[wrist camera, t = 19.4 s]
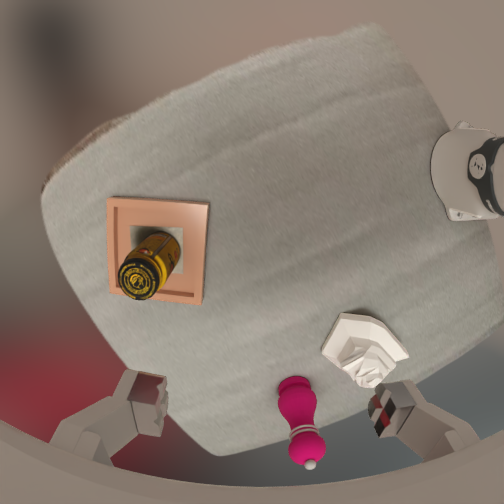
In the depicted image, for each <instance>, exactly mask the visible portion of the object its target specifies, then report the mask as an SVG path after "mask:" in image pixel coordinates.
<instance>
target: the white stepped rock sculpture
mask: <svg viewBox="0 0 504 504" xmlns="http://www.w3.org/2000/svg"><path fill="white" fill-rule="evenodd" d="M322 354H323V355H324V356H325V357H327V358H328V359H329V360H330V361H331V362H332V363H334V364H335V365H336V366H337V367H338V368H340V369H341V370H343V371H345V372H346V373H348V374H349V375H350V376H351V377H352V379H353V381H354V382H357V383H358V384H359V386H360V387H366V388H374V387H375V386H376V385H377V384H379V383H380V382H381V381H382V380H383V379H384V378H385V377H386V376H387V375H388V373H389V372H390V371H392V370H393V369H394V368H395V367H396V362H395V361H399V360H402V359H406V358H409V355H408V351H407V350H406V349H405V348H404V346H403V345H402V344H401V343H400V342H399V341H398V339H397V338H396V337H395V336H394V335H393V334H392V332H391V331H390V330H389V329H388V328H387V327H386V325H385V324H384V323H383V322H381V321H379V320H377V319H375V318H373V317H371V316H365V315H356V314H347V313H340V315H339V317H338V319H337V321H336V322H335V324H334V326H333V328H332V330H331V332H330V334H329V335H328V337H327V339H326V341H325V343H324V344H323V346H322Z"/></svg>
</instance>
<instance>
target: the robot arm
mask: <svg viewBox="0 0 504 504" xmlns="http://www.w3.org/2000/svg"><path fill="white" fill-rule="evenodd" d="M431 175H432V181H433V185H434V188H435V190H436V192H437V194H438V196H439V198H440V199H441V200H442V202H443V203H444V205H445V208H446V212H447V216H448V218H449V219H450V220H452V221H465V220H483V219H497V218H498V216H502V217H504V137H496V135H495V134H493V133H491V131H490V130H488V129H478V128H473V127H472V126H471V125H470V124H468V123H467V122H465V121H460V122H458V124H457V125H456V126H455V128H454V129H453V130H452V131H449V132H447V133H445V134H444V135H443V136H441V137H440V139H439V140H438V141H437V143H436V145H435V147H434V150H433V154H432V159H431ZM457 214H458V215H457ZM166 386H167V378H166V376H162V375H157V374H151V373H146V372H141V371H135V370H131V369H127V370H125V371H124V373H123V375H122V378H121V380H120V382H119V384H118V386H117V388H116V390H115V392H114V394H113V396H112V397H110V396H108V397H106V398H104V399H103V400H100V401H99V402H97V403H95V404H93V405H91V406H89V407H87V408H86V409H83V410H82V411H80V412H78V413H76V414H74V415H72V416H70V417H68V418H66V419H64V420H62V421H61V423H60V425H59V426H58V428H57V430H56V431H55V433H54V435H53V437H52V439H51V441H50V443H49V444H48V443H45V442H43V441H41V440H38V439H36V438H34V437H32V436H30V435H28V434H26V433H24V432H22V431H20V430H18V429H16V428H14V427H12V426H11V425H8V424H7V423H5V422H3V421H1V420H0V504H504V430H502V431H500V432H498V433H496V434H494V435H492V436H490V437H488V438H486V439H483V440H480V439H479V438H478V436H477V435H476V433H475V432H474V430H473V429H472V427H471V426H470V424H469V423H467V422H465V421H463V420H461V419H459V418H457V417H455V416H453V415H452V414H450V413H448V412H446V411H444V410H442V409H441V408H439V407H437V406H435V405H433V404H431V403H427V402H426V401H425V399H424V398H423V396H422V394H421V393H420V392H419V390H418V389H417V387H416V386H415V384H414V383H413V381H411V380H410V379H409V380H402V381H395V382H386V383H379V384H378V385H377V386H376V388H375V393H376V394H375V395H374V396H373V397H372V398H371V399H370V401H369V404H368V414H369V417H370V419H371V420H372V421H374V422H375V425H374V428H375V431H376V433H377V435H378V437H379V438H383V437H390V436H396V437H397V438H399V439H400V440H401V441H402V442H403V443H405V444H406V445H407V446H408V447H409V448H411V449H412V450H413V451H414V452H416V453H417V454H418V455H419V456H421V457H422V458H423V459H424V460H423V461H422V463H421V464H418V465H414V466H411V467H407V468H404V469H400V470H396V471H392V472H388V473H384V474H379V475H374V476H370V477H365V478H359V479H353V480H347V481H340V482H333V483H325V484H316V485H304V486H287V487H237V486H220V485H208V484H198V483H191V482H183V481H177V480H170V479H165V478H159V477H153V476H149V475H144V474H140V473H136V472H131V471H127V470H123V469H120V468H116V467H114V466H113V464H112V462H111V460H110V457H111V456H112V455H114V454H115V453H116V452H117V451H119V449H121V448H122V447H123V446H125V445H126V444H127V443H128V442H129V441H131V440H132V439H133V438H134V437H136V436H137V435H138V433H140V434H146V435H151V436H158V437H160V436H161V433H162V429H163V425H164V422H163V417H164V416H165V415H166V413H167V408H168V392H167V391H166Z"/></svg>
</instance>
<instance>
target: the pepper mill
mask: <svg viewBox="0 0 504 504" xmlns="http://www.w3.org/2000/svg"><path fill="white" fill-rule="evenodd" d="M279 396H280V397H279V400H278V407H279V410H280V412H281V414H282V415H283V417H284V418H285V419H286V420H287V421H288V423H289V425H290V428H291V432H290V434H289V438H290V442H291V443H290V445H289V448H288V451H289V455H290V457H291V459H292V460H293V461H294V462H296V463H298V464H302V465H305V468H306V469H309V470H311V469H314V468H315V466H316V462H317V461H319V460H320V459H321V458H322V457H323V455H324V454H325V451H326V445H325V442H324V440H323V438H321V437H320V434H319V430H318V428H317V427H316V426H315V425H314V420H313V417H314V412H315V409H316V404H317V400H316V395H315V393H314V392H313V391H312V390H311V387H310V384H309V381H308V380H307V379H306V378H303V377H300V376H293V377H289V378H287V379H285V380H284V381H282V382H281V384H280V385H279Z"/></svg>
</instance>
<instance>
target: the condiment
mask: <svg viewBox="0 0 504 504" xmlns="http://www.w3.org/2000/svg"><path fill="white" fill-rule="evenodd" d="M130 240H131V252H130V253H129V254H128V255H127V256H126V258H125V260H124V263H122V265H121V266H120V269H119V271H118V283H119V286H120V288H121V289H122V291H123V292H124V293H125V294H126V295H127V296H129V297H131V298H132V299H135V300H146V299H148V298H151V297H152V296H153V295H154V294H155V293H156V292H157V291H158V290H160V289H161V288H162V287H163V286H164V284H165V283H166V281H167V279H168V277H169V276H170V274H171V273H177V274H183V228H180V227H155V226H154V227H149V226H130Z"/></svg>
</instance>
